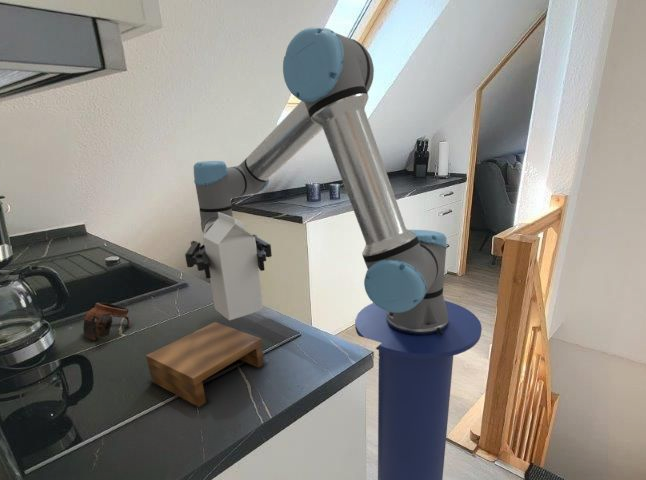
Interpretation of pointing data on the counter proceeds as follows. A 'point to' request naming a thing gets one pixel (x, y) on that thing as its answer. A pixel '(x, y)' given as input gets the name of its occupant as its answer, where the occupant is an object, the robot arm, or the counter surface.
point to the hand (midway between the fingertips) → (235, 267)
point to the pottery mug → (102, 319)
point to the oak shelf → (201, 359)
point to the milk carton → (233, 268)
